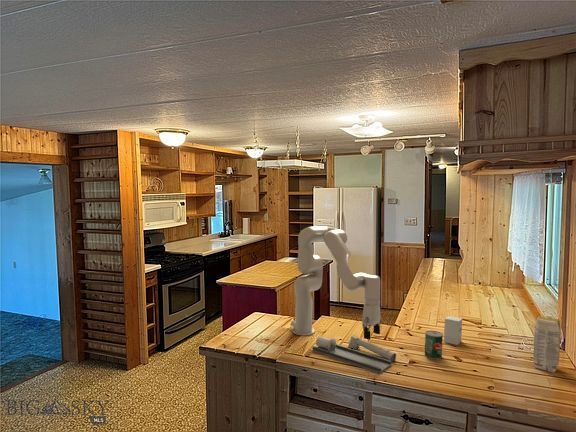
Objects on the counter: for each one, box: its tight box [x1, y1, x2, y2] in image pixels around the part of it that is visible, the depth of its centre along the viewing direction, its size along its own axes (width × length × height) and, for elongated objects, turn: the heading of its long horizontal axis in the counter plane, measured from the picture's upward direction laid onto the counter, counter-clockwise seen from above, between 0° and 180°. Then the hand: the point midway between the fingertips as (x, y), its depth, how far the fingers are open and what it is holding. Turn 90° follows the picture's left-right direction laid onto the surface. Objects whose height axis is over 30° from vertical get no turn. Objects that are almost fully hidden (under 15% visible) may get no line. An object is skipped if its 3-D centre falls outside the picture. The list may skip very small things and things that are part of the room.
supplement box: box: [443, 315, 463, 346], centre depth 205 cm, size 7×7×13 cm
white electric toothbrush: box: [347, 334, 397, 363], centre depth 188 cm, size 5×7×25 cm
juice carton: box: [532, 314, 562, 373], centre depth 174 cm, size 9×8×24 cm
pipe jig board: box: [312, 335, 392, 375], centre depth 181 cm, size 36×11×7 cm, turn 50°
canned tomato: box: [424, 330, 444, 360], centre depth 186 cm, size 8×8×11 cm
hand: (371, 336), depth 187 cm, fingers open, 9 cm apart
